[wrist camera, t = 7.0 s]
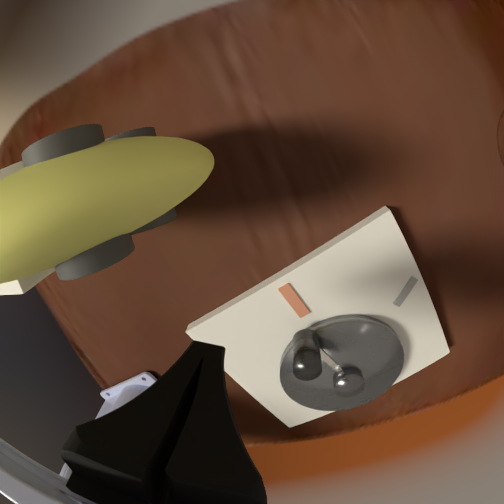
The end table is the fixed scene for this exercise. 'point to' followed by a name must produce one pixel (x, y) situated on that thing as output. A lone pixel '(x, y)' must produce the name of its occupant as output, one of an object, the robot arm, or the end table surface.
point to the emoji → (90, 200)
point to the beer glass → (501, 137)
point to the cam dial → (341, 362)
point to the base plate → (325, 310)
